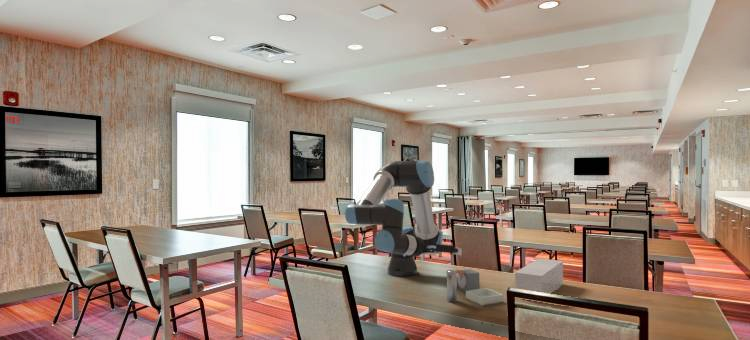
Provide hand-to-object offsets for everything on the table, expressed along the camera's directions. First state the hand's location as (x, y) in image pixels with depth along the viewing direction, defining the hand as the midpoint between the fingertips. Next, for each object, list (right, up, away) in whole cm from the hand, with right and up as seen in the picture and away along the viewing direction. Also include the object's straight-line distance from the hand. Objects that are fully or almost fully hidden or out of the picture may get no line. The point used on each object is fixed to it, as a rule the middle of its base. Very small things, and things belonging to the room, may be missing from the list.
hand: (447, 252), depth 176 cm
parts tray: (+15, -19, -1) cm, 24 cm away
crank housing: (+11, -19, +13) cm, 26 cm away
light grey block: (+42, -19, +11) cm, 47 cm away
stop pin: (+2, -20, -1) cm, 20 cm away
